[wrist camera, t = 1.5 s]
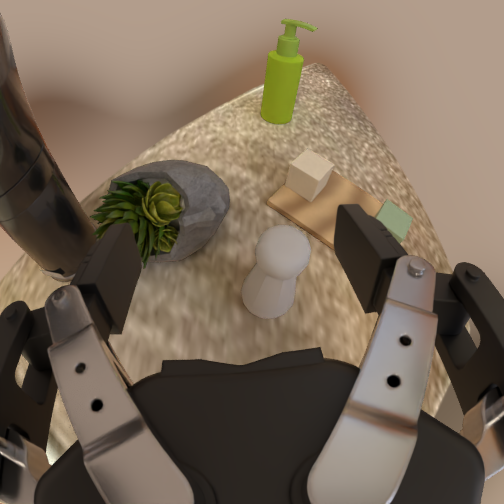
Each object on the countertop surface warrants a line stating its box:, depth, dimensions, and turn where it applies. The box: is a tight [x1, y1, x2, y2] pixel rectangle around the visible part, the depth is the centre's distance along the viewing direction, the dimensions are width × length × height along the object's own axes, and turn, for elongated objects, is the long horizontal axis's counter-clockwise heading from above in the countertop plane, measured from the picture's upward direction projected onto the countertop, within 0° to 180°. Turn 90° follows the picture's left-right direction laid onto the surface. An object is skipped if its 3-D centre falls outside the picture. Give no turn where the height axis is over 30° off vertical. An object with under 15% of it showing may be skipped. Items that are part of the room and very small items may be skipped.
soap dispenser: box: [261, 19, 318, 124], centre depth 41 cm, size 6×7×20 cm
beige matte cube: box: [285, 148, 334, 202], centre depth 38 cm, size 4×4×4 cm
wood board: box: [267, 170, 383, 251], centre depth 39 cm, size 18×12×1 cm, turn 52°
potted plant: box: [90, 160, 230, 269], centre depth 30 cm, size 12×13×15 cm
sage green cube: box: [375, 199, 413, 244], centre depth 35 cm, size 4×4×4 cm
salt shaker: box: [241, 225, 311, 319], centre depth 27 cm, size 6×6×13 cm
